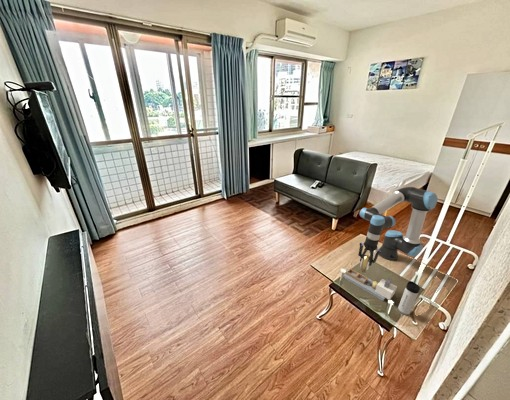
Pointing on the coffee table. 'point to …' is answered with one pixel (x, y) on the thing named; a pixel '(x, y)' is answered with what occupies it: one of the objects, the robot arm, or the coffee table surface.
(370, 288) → the board
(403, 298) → the travel mug
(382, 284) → the cover
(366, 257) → the brass pin
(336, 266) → the coffee table surface
